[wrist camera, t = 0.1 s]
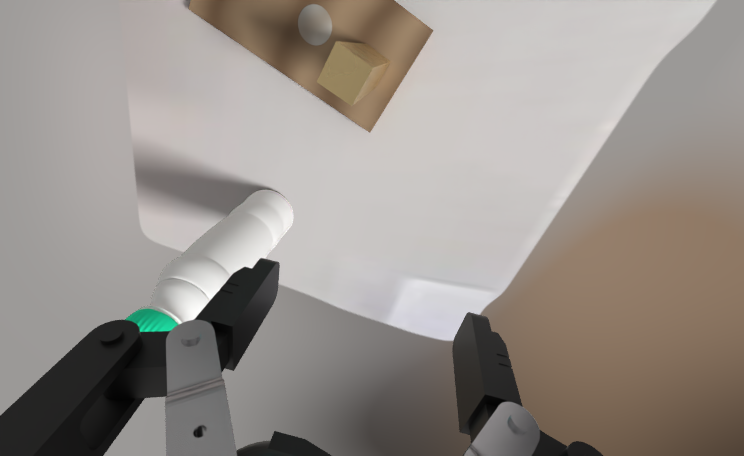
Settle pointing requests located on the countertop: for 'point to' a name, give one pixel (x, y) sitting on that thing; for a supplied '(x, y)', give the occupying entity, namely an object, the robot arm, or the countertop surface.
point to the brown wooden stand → (323, 40)
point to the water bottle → (215, 260)
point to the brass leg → (352, 71)
